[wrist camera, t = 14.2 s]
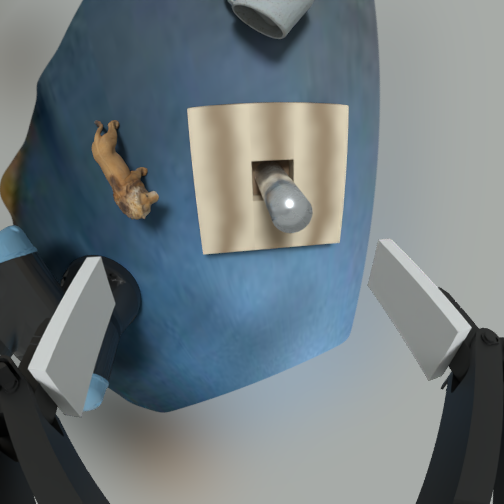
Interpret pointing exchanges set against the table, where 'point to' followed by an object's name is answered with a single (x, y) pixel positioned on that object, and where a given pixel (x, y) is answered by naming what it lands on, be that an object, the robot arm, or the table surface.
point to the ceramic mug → (271, 14)
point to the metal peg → (283, 198)
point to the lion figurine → (122, 175)
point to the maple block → (260, 150)
